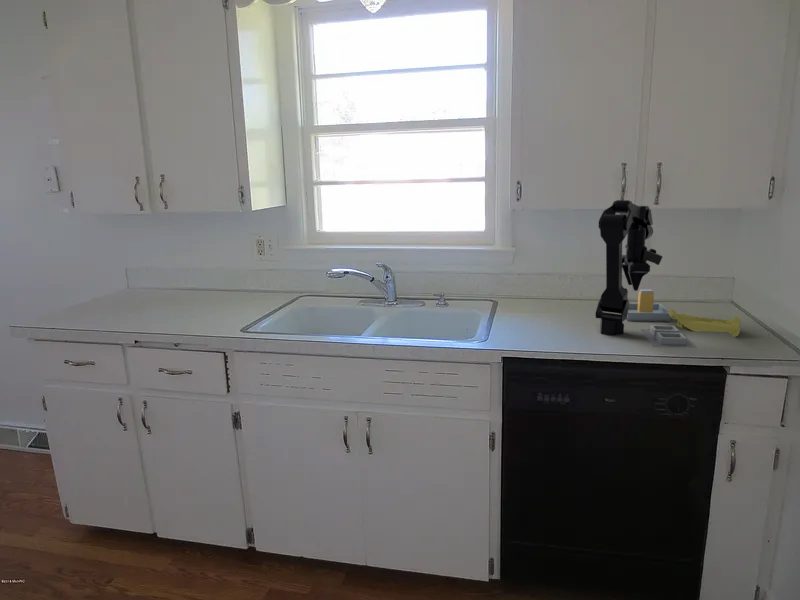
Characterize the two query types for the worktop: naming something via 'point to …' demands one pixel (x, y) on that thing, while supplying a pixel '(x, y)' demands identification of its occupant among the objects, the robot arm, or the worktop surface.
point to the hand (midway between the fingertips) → (632, 287)
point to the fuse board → (667, 336)
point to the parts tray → (648, 314)
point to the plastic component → (707, 323)
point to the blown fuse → (645, 301)
